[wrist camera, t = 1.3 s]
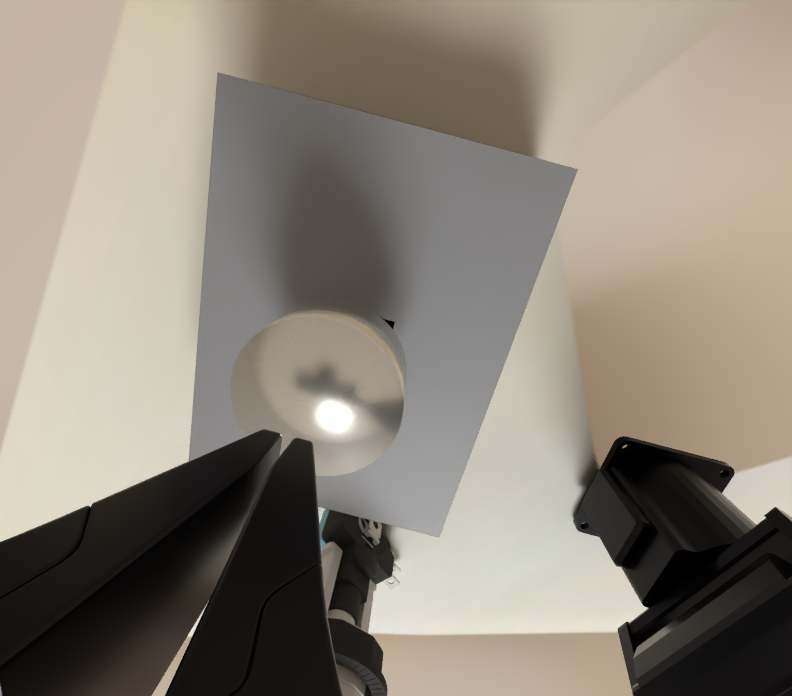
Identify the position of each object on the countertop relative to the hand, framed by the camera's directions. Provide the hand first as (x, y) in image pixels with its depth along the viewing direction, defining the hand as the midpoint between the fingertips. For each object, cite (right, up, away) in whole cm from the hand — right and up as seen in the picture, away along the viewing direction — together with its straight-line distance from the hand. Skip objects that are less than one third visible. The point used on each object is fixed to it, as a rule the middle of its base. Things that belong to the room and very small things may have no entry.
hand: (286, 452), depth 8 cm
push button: (0, -10, +16) cm, 19 cm away
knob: (+1, +3, +9) cm, 10 cm away
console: (+1, +4, +11) cm, 12 cm away
